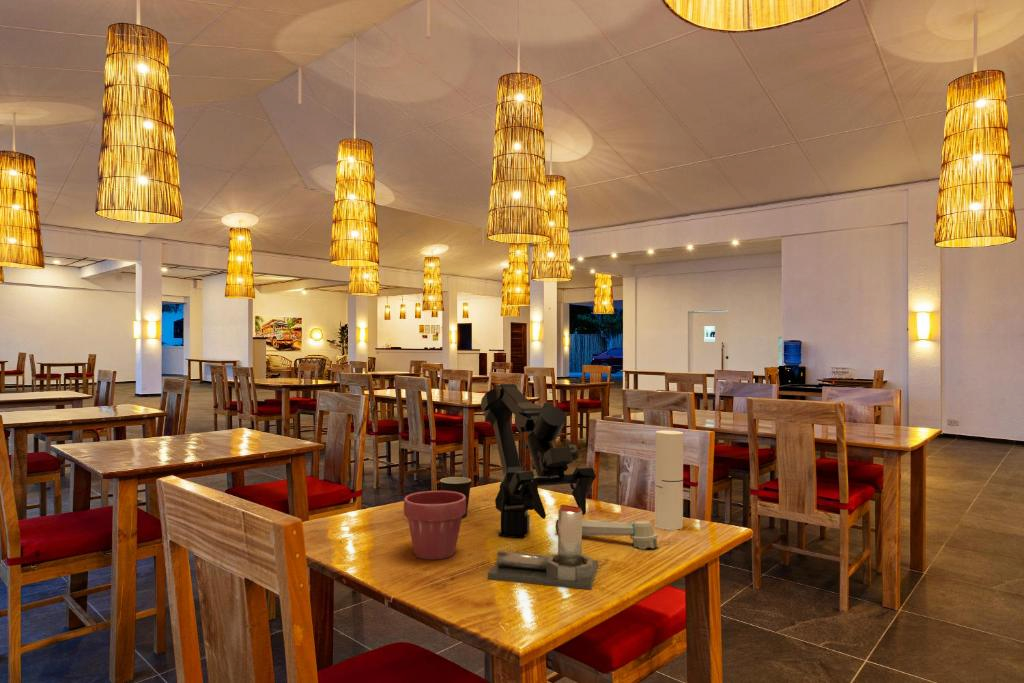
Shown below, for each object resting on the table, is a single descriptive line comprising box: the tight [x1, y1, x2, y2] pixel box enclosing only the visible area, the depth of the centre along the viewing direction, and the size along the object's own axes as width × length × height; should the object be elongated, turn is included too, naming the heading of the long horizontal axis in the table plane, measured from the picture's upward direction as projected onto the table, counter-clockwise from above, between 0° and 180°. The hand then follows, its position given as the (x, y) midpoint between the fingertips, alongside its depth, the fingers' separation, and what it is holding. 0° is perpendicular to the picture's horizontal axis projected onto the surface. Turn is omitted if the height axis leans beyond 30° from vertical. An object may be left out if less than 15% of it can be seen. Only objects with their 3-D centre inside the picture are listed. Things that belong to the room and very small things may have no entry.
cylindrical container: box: [654, 429, 684, 531], centre depth 161 cm, size 7×7×25 cm
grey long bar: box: [555, 519, 659, 550], centre depth 148 cm, size 5×7×25 cm
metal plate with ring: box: [487, 550, 599, 590], centre depth 126 cm, size 21×13×4 cm, turn 76°
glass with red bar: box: [556, 504, 583, 567], centre depth 123 cm, size 5×5×13 cm
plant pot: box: [403, 490, 466, 560], centre depth 138 cm, size 14×14×13 cm
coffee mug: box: [439, 476, 472, 519], centre depth 170 cm, size 12×9×10 cm
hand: (564, 515), depth 126 cm, fingers open, 9 cm apart
